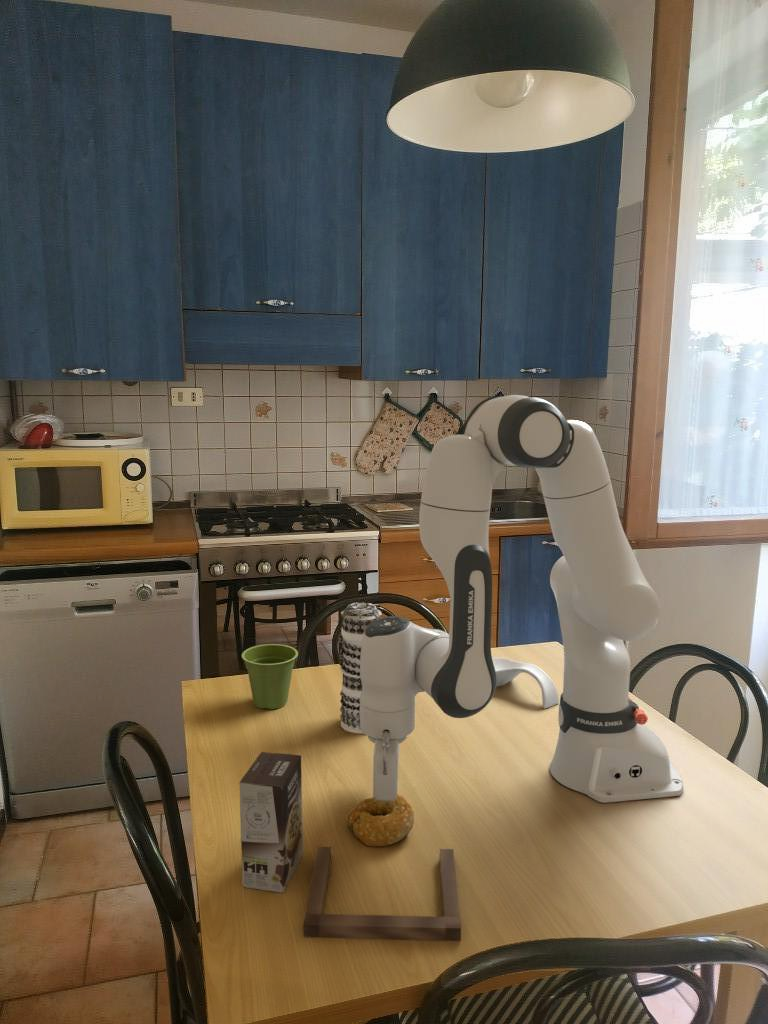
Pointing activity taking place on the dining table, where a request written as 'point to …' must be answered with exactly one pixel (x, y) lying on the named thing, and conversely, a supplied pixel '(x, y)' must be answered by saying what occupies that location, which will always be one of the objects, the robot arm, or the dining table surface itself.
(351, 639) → the decorative candle
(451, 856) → the brown u-shaped frame
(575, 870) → the dining table surface
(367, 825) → the bagel
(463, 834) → the dining table surface
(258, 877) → the coffee box
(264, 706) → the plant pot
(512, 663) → the spoon rest
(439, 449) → the robot arm
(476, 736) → the dining table surface
